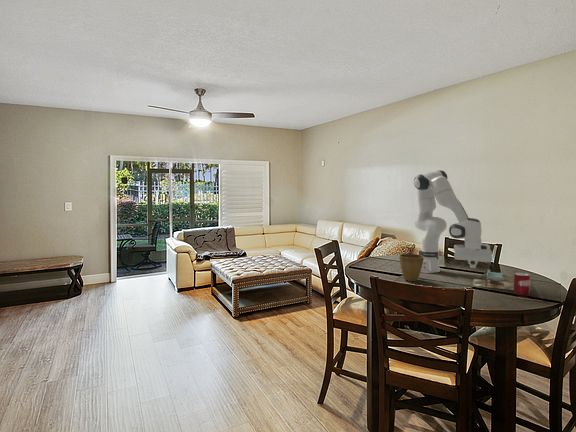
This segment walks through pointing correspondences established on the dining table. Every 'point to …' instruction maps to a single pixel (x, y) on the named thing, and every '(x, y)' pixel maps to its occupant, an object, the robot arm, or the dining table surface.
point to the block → (494, 282)
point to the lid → (494, 275)
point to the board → (501, 285)
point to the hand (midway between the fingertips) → (472, 267)
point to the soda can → (522, 284)
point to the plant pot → (411, 266)
